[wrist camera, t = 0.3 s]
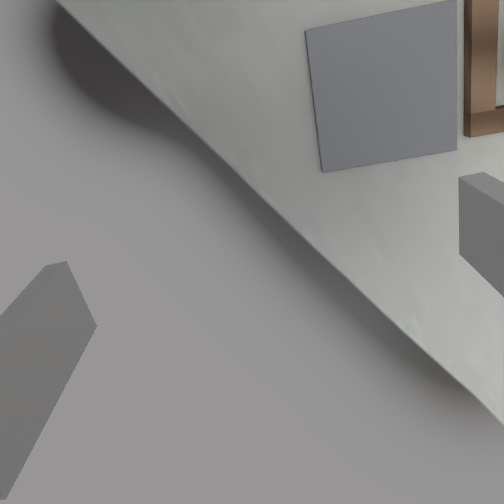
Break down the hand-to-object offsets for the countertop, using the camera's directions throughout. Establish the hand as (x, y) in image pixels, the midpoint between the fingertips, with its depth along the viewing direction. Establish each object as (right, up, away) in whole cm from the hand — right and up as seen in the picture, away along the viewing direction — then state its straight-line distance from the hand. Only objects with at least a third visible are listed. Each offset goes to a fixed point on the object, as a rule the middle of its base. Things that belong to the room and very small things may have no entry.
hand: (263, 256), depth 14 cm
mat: (+11, +14, +23) cm, 30 cm away
